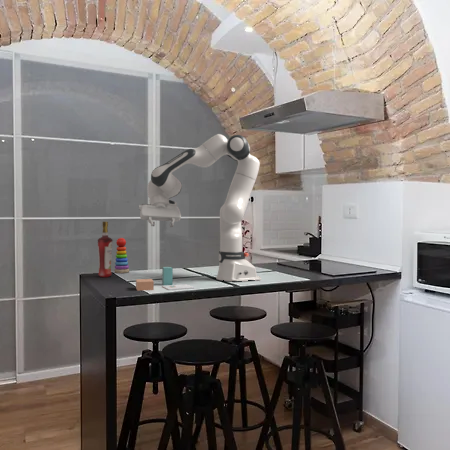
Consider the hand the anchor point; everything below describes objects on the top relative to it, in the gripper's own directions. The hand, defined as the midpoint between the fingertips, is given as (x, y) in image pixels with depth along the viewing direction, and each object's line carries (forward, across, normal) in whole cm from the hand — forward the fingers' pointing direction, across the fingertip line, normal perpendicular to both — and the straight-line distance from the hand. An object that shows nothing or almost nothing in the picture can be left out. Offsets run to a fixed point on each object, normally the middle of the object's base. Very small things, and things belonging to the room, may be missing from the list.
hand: (162, 225), depth 231 cm
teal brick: (+28, +1, +10) cm, 29 cm away
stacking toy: (-3, -12, +43) cm, 45 cm away
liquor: (+7, -23, +34) cm, 42 cm away
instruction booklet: (+34, +3, +3) cm, 34 cm away
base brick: (+34, -12, +5) cm, 36 cm away
